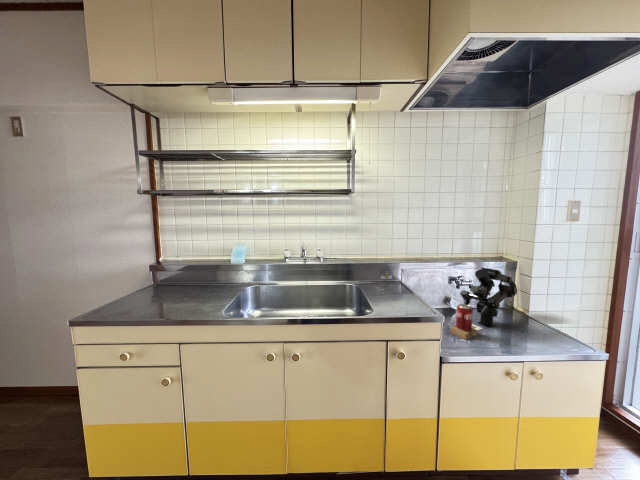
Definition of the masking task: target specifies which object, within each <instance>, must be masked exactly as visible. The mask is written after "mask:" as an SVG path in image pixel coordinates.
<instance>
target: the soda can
mask: <svg viewBox="0 0 640 480" xmlns="http://www.w3.org/2000/svg"><path fill="white" fill-rule="evenodd" d="M473 311H474V307H473V306H472V305H470V304H469V305H466V304H464V303H460V304H457V305H456V315H455V316H456V321H455V325H456V327H457V328H458V329H459V330H462V331H470V330H471V329H472V324H473V313H474V312H473Z"/></svg>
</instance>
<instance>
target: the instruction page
mask: <svg viewBox="0 0 640 480" xmlns="http://www.w3.org/2000/svg"><path fill="white" fill-rule="evenodd" d="M472 328H473V329H475V330H477V331H481V330H483V327H481V326H478V325H475V324H473V323H472Z"/></svg>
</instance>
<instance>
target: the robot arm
mask: <svg viewBox="0 0 640 480" xmlns="http://www.w3.org/2000/svg"><path fill="white" fill-rule="evenodd" d="M474 276H475V277H476V279H477V280H478V282H479V283H480V284H479V285H477V286H476V285H471V287H470V290H469V291H468V290H461V291H460V292H459V294H460V296H461V298H462V299H463V304H466V305H470V303H471V301H472V300H476V301H478V302H477V303H476V311H477V313H479V314H480V317H479V318H480V320H479V321H478V322H477V324H479V325H481V326H484V327H486V328H492V327H494V326H496V325H497V324H496V323H494V318H497V316H498V313H499V308H500V306H501V305H500V303H501V302H502V301H504V300H506V299H507V298H513V297H515V296H516V295H517V294H518V289H517V288H518V287H517V285H516V283H515V282H514V281H513V278H512V276H509V275H506V274H504V273H503V274H502V271H501V270H499V269H495V268H488V267H487V268H486V267H481V269H478V270H476V271H475V272H474ZM494 281H499V284H498V285H497V288H498V291H497V292H496V293H494V294H493V295H492V296H490V295H491V290H492V289H493V288H494V287H495V286H496V285H495V282H494ZM503 283H505V284H503ZM506 284H508V285H506ZM470 292H472V294H471V293H470ZM489 296H490V297H489Z"/></svg>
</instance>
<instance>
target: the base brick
mask: <svg viewBox="0 0 640 480" xmlns="http://www.w3.org/2000/svg"><path fill="white" fill-rule="evenodd" d="M449 333H451V334H453V335H455V336H457V337H459V338H461V339H463V340H466V341H467V340H469V339H471V338H474V337H478V330H475V329H473V328H472V329H471V330H470V331H462V330H459V329H458V328H457V327H456V324H454V325H453V326H450V327H449Z"/></svg>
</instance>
